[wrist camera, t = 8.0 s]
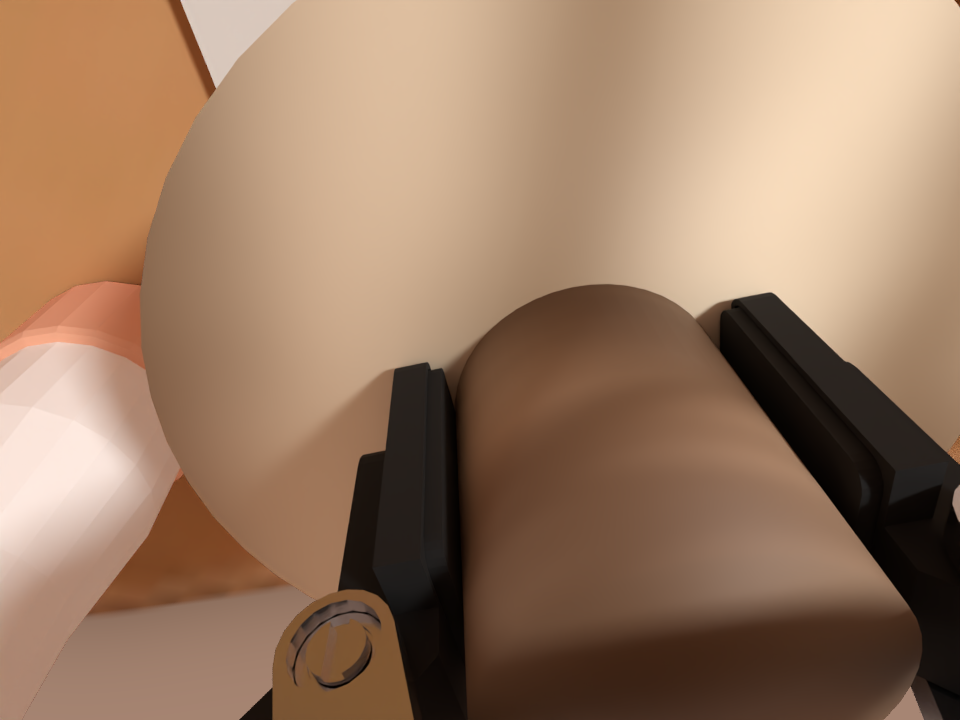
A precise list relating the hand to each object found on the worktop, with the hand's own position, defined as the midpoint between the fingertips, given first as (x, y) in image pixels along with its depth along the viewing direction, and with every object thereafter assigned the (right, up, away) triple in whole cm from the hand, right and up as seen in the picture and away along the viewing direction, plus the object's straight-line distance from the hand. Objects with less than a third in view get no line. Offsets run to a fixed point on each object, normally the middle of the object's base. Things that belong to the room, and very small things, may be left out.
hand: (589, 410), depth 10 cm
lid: (0, +1, +1) cm, 1 cm away
